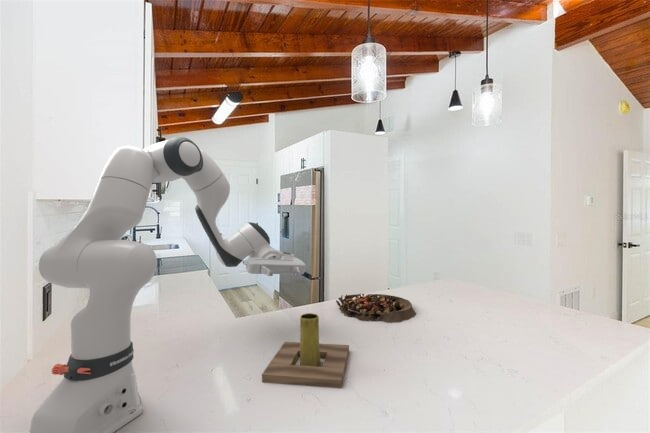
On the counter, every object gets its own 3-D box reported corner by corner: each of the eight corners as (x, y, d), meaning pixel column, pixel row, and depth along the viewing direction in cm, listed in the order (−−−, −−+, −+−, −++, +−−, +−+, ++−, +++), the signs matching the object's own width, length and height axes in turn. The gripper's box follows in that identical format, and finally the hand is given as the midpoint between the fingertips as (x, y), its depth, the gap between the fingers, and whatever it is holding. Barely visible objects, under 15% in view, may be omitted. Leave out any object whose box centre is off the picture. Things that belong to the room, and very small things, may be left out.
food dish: (321, 312, 145) (320, 294, 145) (370, 299, 166) (370, 284, 166) (381, 331, 118) (380, 309, 118) (431, 312, 139) (430, 294, 140)
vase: (317, 371, 89) (316, 320, 89) (296, 368, 91) (295, 318, 91) (323, 361, 95) (322, 313, 95) (303, 358, 97) (302, 312, 97)
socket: (341, 387, 81) (341, 380, 81) (262, 381, 84) (261, 374, 84) (349, 351, 102) (349, 345, 102) (285, 347, 105) (284, 341, 105)
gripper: (242, 251, 109) (254, 263, 97) (296, 253, 119) (313, 265, 107) (239, 269, 109) (251, 283, 97) (294, 270, 120) (310, 283, 108)
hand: (284, 273), depth 102 cm, fingers open, 8 cm apart
